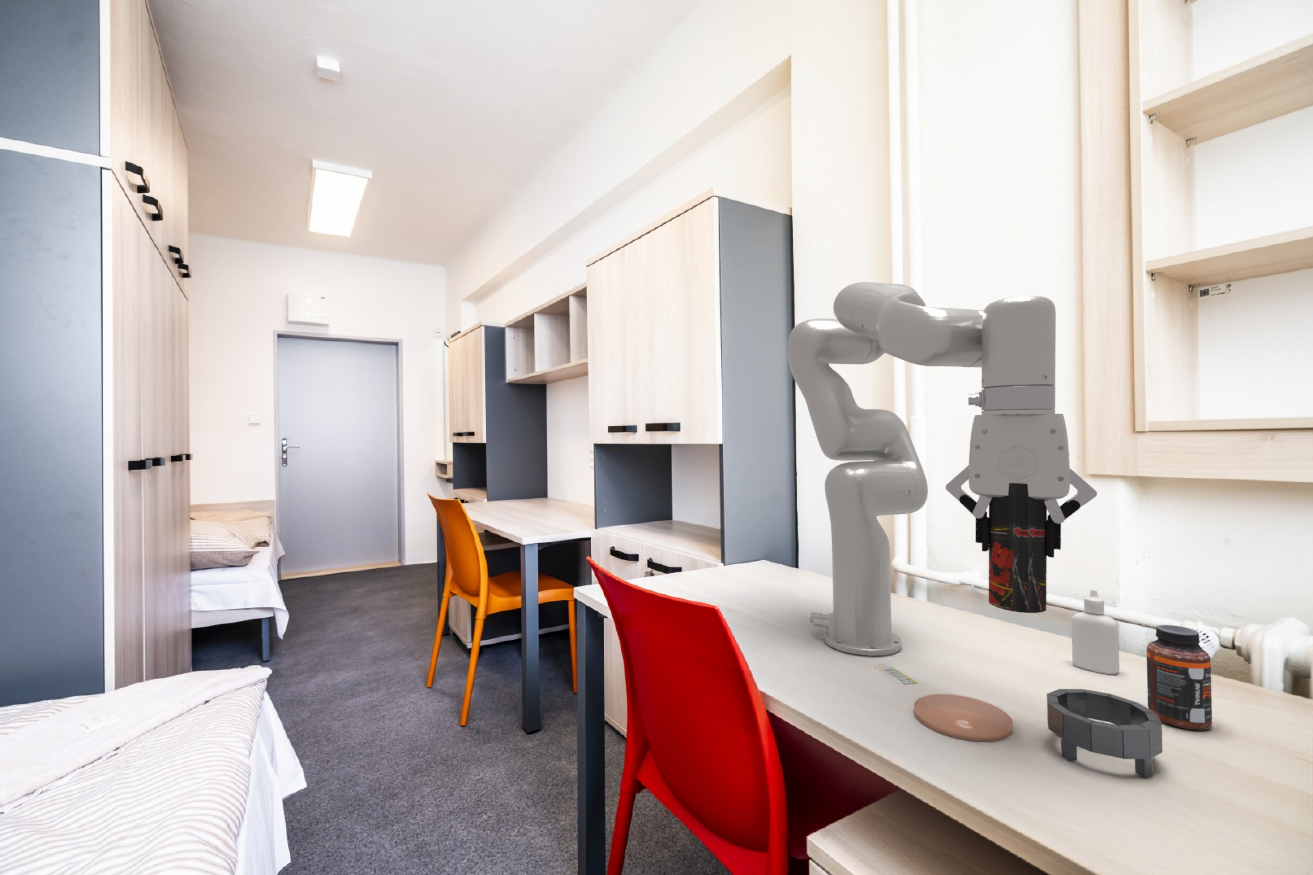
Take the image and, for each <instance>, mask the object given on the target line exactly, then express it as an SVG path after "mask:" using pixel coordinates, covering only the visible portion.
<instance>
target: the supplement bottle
mask: <svg viewBox="0 0 1313 875" xmlns="http://www.w3.org/2000/svg"><path fill="white" fill-rule="evenodd" d="M1155 636H1156V637H1157V639H1156V640H1153V641H1150V642H1149V643H1148V644H1147V646H1146V676H1147V677H1146V680H1147V681H1146V682H1147V683H1146V684H1147V708H1148V709H1150V710H1152V711H1153V712H1155V713H1156V714H1157V715H1158V717H1159V719H1160V721H1161V723H1164V724H1167V725H1170V726H1174V727H1175V728H1176V727H1177V728H1181V729H1186V730H1194V731H1203V730H1207V729H1209V728H1211V727H1212V725H1213V724H1212V720H1213V708H1212V707H1213V705H1212V704H1213V701H1212V700H1213V698H1212V666H1211V664H1212V663H1211V656H1210V654H1209V653H1208V652H1207V651H1206V650H1205V649H1203V648H1202V647H1201V645H1200V642H1201V641H1200V633H1199V632H1198V631H1197V630H1196V629H1192V628H1190V627H1185V626H1181V625H1174V624H1173V625H1171V624H1159V625H1156V627H1155Z"/></svg>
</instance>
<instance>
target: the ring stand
mask: <svg viewBox="0 0 1313 875" xmlns="http://www.w3.org/2000/svg"><path fill="white" fill-rule="evenodd" d="M1046 715H1047V716H1046V717H1047V718H1046V720H1047V729H1048V730H1049V731H1050V732H1052V733H1053V734H1054V735H1056V736H1057V737H1058V738H1060V744H1061V745H1060V749H1061V752H1060V753H1061V754H1060V755H1061V758H1064V759H1065V760H1067V761H1068V762H1073V761H1077V760H1078V748H1081V749H1083V750H1085V751H1088V752H1090V753H1094V754H1099V755H1103V756H1108V757H1113V758H1117V759H1121V760H1134V773H1135V774H1136V775H1138V776H1140V777H1142V778H1143V779H1150V778H1153V775H1154V774H1153V772H1154V771H1153V758H1155V757H1157V756H1159V755H1160V754H1163V724H1162V723H1163V722H1161V721H1160V719H1159V717H1158V715H1157V714H1156V713H1155V712H1153V711H1152V710H1150V709H1148V707H1146V706H1144V705H1142V704H1141V703H1139V702H1137V701H1134V700H1131V699H1128V698H1126V697H1125V698H1124V697H1122V696H1119V695H1116V694H1112V693H1108V692H1102V691H1096V690H1091V689H1084V688H1058V689H1055V690H1053V691H1050V692H1047V693H1046Z"/></svg>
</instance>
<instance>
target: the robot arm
mask: <svg viewBox="0 0 1313 875" xmlns="http://www.w3.org/2000/svg"><path fill="white" fill-rule="evenodd" d="M925 303H926V302H925V301H924V299H923V298H922V297H921V295H919V293H918V292H917V291H916V289H914V288H913V287H911V286H908V285H906V284H901V283H890V282H889V283H888V282H873V281H872V282H871V281H860V282H854V283H851V284H848V285H847V286H845V287H843V289H841V290H840V291H839V292H838V293H837V295H836V297H835V299H834V301H833V314H834V317H835V318H812V319H807V320H804V321H802V322H799V323H798V324H796V325H795V326H794V327H793V328H792V330H791V331H790V334H789V336H788V342H787V360H788V366H789V367H788V368H789V370H790V372H791V375H792V377H793V380H794V381H795V383H796V385H797V386H798V389H799V390H800V392H801V394H802V396H803V398H804V400H805V403H806V406H807V411H808V413H809V416H810V420H811V422H812V427H813V430H814V432H815V435H816V436H815V437H816V439H817V441H818V444H819V447H820V449H821V451H822V453H823V454H824V456H825V457H826V458H828V459H830V460H832V461H833V460H834V461H840V462H841V461H842V462H843V461H849V462H844V463H840V464H838V465H836V466H834V467H833V468H832V469H830V470H829V472H828V473H827V475H826V478H825V481H824V492H825V493H824V495H825V499H826V503H827V504H826V505H827V510H828V513H829V520H830V530H831V531H830V532H831V534H830V535H831V553H832V554H831V559H832V560H831V561H832V562H831V563H832V608H833V611H832V613H831V612H829V613H828V614H825V613H824V614H823V613H821V612H814V611H812V612H810V614H809V616H810V617H809V618H810V619H809V621H810V623H812V626H813V627H819V628H825V629H826V631H825V633H824V641H825V643H826V644H827V645H828V646H830V647H831V648H833V649H835V650H838V651H840V652H844V653H847V654H853V655H859V656H872V657H873V656H874V657H877V656H888V655H892V654H896V653H898V652H899V651H901V649H902V639H901V638H900V637H899V636H898V635H896V634H895V633H893V632H892V593H891V592H892V590H891V589H892V588H891V585H892V584H891V553H890V552H891V549H890V548H891V547H890V546H891V545H890V541H889V537H888V535H887V533H886V531H885V530H884V528H883V526H882V525H881V523H880V521H879V520H878V517H880V516H892V515H893V516H894V515H907V514H913V513H916V512H918V511H920V510H921V509H922V508H923V507H924V506H925V504H926V502H927V499H928V495H929V494H928V492H929V491H928V490H929V489H928V487H929V486H928V481H927V477H926V474H925V472H924V468H923V466H922V463H921V461H920V458H919V456H918V454H917V451H916V448H915V445H914V443H913V441H912V438H911V436H910V433H909V431H908V429H907V427H906V424H905V423H904V421H903V420H902V419H901V418H900V416H898V415H897V414H895V413H894V412H892V411H890V410H887V409H879V408H874V409H873V408H872V409H871V408H862V407H860V406H859V405H858V404H857V403H856V400H855V398H854V396H853V395H854V394H853V392H852V389H851V387H850V385H849V384H848V382H847V381H846V380H845V379H844V378H843V377H842V375H841V374H839V373H838V372H837V371H836V370H835V369H833V368H832V367H831V366H830V364H831V365H832V364H833V365H867V364H871V363H873V362H876V360H878V359H880V358H881V357H882V356H884V355H885V354H887V355H889V356H892V357H894V358H897V359H900V360H902V361H904V362H908V363H910V364H914V365H917V366H923V367H950V368H951V367H955V368H956V367H957V368H958V367H959V368H960V367H961V368H981V391H979V392H978V393H977V392H975V393H974V394H968V397H967V398H968V399H967V400H968V406H975V407H978V408H981V414H975V415H974V417H973V421H972V427H971V431H970V441H969V454H968V455H969V456H968V465H967V466H966V467H965V468H963V470H961V471H959V473H958V474H957V475H956V476H954V477H953V478H952V479H951V480H950V481H949V482H948V483H946V484H945V490H946V491H947V492H948V493H949V494H951V495H952V497H954V498H955V499H956V500H957V501H958V502H959V503H960V504H961V505H962V506H963V507H964V508H965V509H966V510H968V512H970V514H971V515H972V516H973V517H974V518H975V543H976V544H981V552H989V516H988V511H987V509H988V508H989V503H990V501H991V499H992V497H1004V496H1007V495H1008V492H1009V483H1023V484H1028V495H1029V497H1032V498H1034V499H1044V503H1045V505H1046V507H1047V513H1048V514H1047V523H1046V556H1047V558H1051V559H1052V558H1053V559H1054V558H1055V550H1058V551H1060V550H1061V547H1062V524H1063V523H1064V522H1065V520H1066V519H1068V518H1070V516H1072V515H1074V514H1075V513H1076V512H1078V511H1079V509H1081V508H1082V507H1083V506H1085V505H1086V504H1087V503H1089V502H1090V501H1092V500H1093V499H1094V498H1096V497H1097V495H1098V492H1097V490H1096V489H1094V488H1093V487H1092V486H1091V485H1090V484H1089V483H1088V482H1087V481H1085V480H1084V479H1083V478H1082V477H1081V476H1079V474H1077V473H1076V472H1075V471H1074V470H1072V468H1071V466H1070V464H1071V463H1070V449H1069V438H1068V436H1069V435H1068V430H1067V429H1068V428H1067V424H1066V420H1065V415H1064V413H1056V331H1057V330H1056V328H1057V326H1056V325H1057V324H1056V322H1057V320H1056V319H1057V316H1056V315H1057V314H1056V313H1057V312H1056V306H1055V303H1054V301H1053V300H1051V299H1050V298H1048V297H1046V296H1039V295H1022V296H1013V297H1008V298H1007V297H1006V298H1002V299H997V300H995V301H993V302H990V303H989V304H987V306H985V308H984V309H969V308H968V309H966V308H954V307H953V308H952V307H932V306H931V307H930V306H926V304H925ZM967 481H968V486H969V490H970V492H971V493H973V494H974V495H978V496H979V497H978V499H977V501H976V500H975V499H973V497H971V495H969V494H968V493H967V492H966V491H965V490H964V489H963V488H962V486H963V485H964V484H965V483H966V482H967ZM1071 485H1072V487H1074V488H1075V489H1076V494H1075V495H1073V496H1072V497H1071V498H1069V499H1068V500H1066V501H1065V502H1063V503H1062V504H1061V505H1060V504H1059V502H1058V501H1057V500H1060V499H1064V497H1066V496H1068V495H1069V493H1070V490H1071V489H1070V488H1071V487H1070V486H1071Z"/></svg>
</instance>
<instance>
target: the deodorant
mask: <svg viewBox="0 0 1313 875" xmlns="http://www.w3.org/2000/svg"><path fill="white" fill-rule="evenodd" d="M988 517H989V551H988V604H990V605H991V606H993V607H995V608H998V609H1001V610H1004V611H1009V612H1015V613H1022V614H1023V613H1024V614H1038V613H1039V614H1040V613H1044V612H1046V611H1047V580H1048V579H1047V572H1048V571H1047V566H1048V565H1047V561H1048V559H1047V558H1048V556H1046V523H1047V519H1048V510H1047V507H1046V505H1045V503H1044V499H1034V498H1032V497H1029V495H1028V484H1023V483H1009V492H1008V495H1007V496H1004V497H992V499H991V501H990V503H989V505H988Z"/></svg>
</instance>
